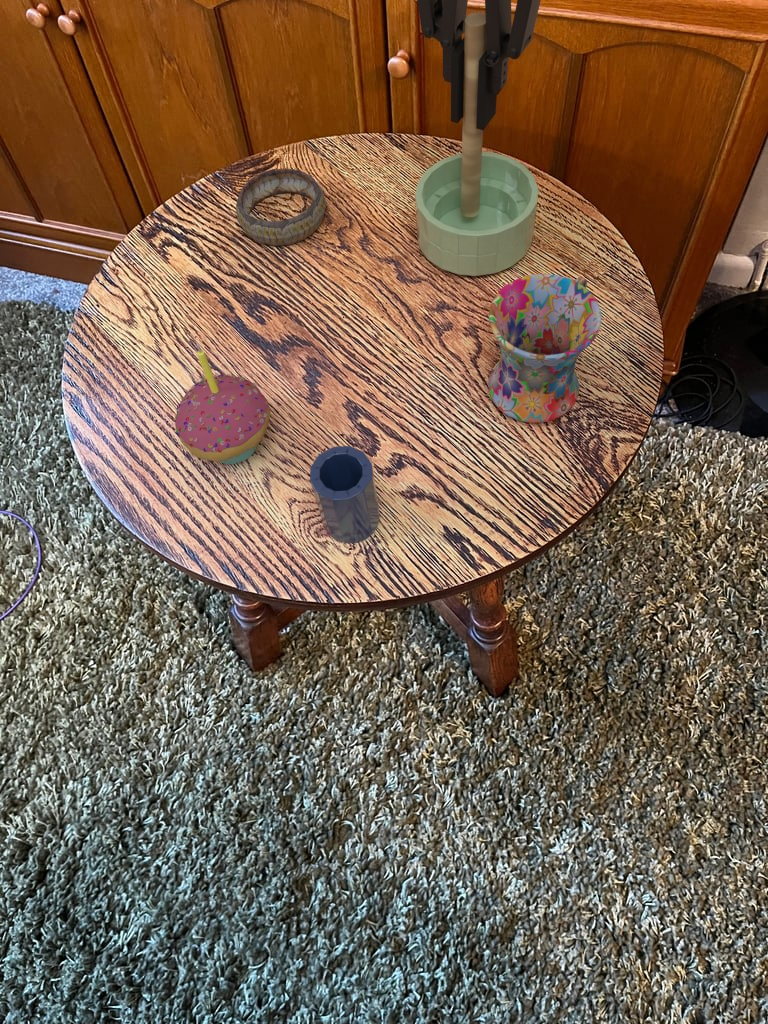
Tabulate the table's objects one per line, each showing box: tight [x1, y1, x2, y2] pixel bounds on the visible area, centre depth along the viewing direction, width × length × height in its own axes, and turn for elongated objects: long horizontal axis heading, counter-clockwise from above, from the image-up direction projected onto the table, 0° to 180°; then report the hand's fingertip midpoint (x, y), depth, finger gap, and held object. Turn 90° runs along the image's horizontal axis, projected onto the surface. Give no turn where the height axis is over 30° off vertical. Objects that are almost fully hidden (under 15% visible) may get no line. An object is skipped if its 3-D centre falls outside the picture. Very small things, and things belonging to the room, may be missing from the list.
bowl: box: [414, 151, 540, 277], centre depth 81 cm, size 12×12×6 cm
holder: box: [309, 445, 381, 544], centre depth 65 cm, size 5×5×8 cm
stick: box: [461, 11, 487, 217], centre depth 74 cm, size 2×2×20 cm
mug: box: [487, 273, 602, 424], centre depth 69 cm, size 12×9×11 cm
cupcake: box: [174, 342, 272, 465], centre depth 68 cm, size 9×8×12 cm
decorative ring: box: [235, 167, 327, 247], centre depth 86 cm, size 10×3×10 cm
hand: (473, 117), depth 73 cm, fingers closed on stick, 2 cm apart
